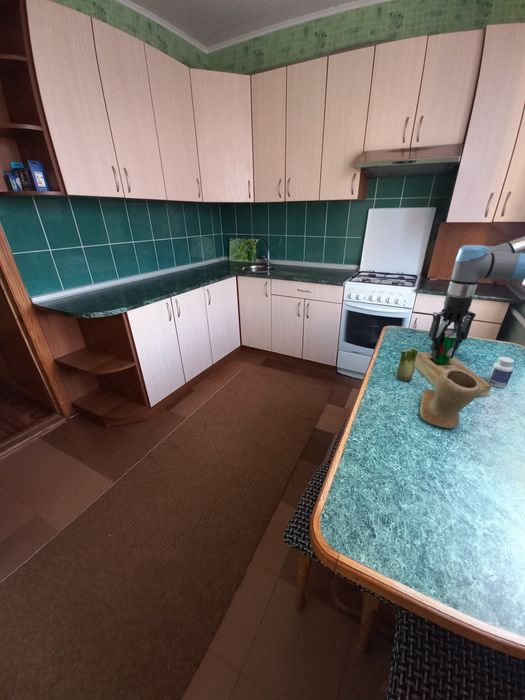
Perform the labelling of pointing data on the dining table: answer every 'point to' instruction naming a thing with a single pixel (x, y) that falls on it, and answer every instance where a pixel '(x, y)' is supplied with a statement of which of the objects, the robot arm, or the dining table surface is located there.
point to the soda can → (446, 347)
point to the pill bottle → (501, 372)
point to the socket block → (434, 370)
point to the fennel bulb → (407, 365)
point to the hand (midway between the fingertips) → (441, 357)
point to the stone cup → (448, 398)
